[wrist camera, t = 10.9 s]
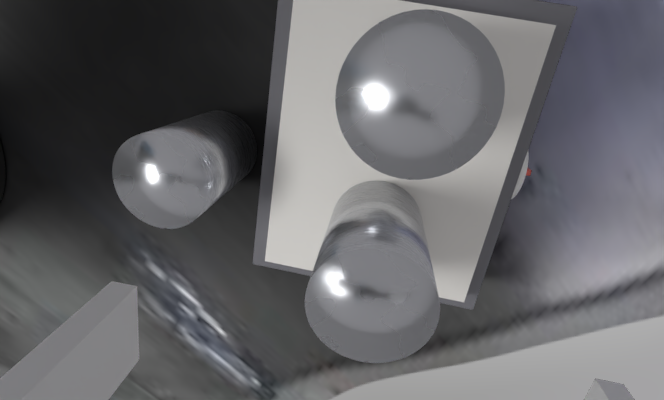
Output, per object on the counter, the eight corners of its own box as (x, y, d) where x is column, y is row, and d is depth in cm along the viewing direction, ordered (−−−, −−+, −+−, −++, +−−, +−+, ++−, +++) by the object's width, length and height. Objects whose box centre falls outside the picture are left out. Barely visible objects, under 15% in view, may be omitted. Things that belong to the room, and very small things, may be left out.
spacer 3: (325, 253, 23) (297, 347, 16) (339, 172, 21) (314, 235, 14) (410, 270, 23) (422, 375, 15) (431, 190, 21) (456, 264, 14)
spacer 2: (346, 123, 20) (324, 164, 13) (364, 18, 19) (350, -4, 11) (443, 141, 20) (476, 193, 13) (471, 36, 18) (528, 24, 11)
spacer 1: (186, 175, 28) (114, 218, 21) (187, 104, 26) (109, 124, 19) (254, 188, 28) (205, 237, 20) (260, 117, 26) (210, 142, 19)
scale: (269, 236, 29) (247, 272, 24) (299, -25, 23) (276, -45, 18) (471, 277, 28) (488, 322, 23) (558, 16, 22) (604, 6, 17)
